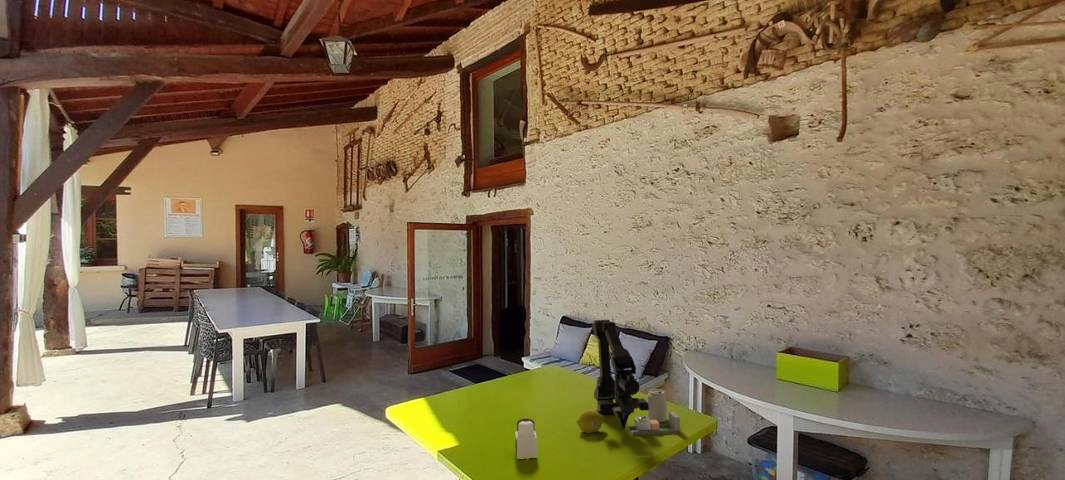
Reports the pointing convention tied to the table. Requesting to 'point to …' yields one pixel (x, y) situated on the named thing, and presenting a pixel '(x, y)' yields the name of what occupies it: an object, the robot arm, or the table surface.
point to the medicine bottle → (525, 439)
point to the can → (657, 405)
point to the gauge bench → (662, 426)
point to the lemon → (590, 421)
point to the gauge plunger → (642, 424)
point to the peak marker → (655, 425)
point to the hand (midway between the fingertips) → (623, 427)
